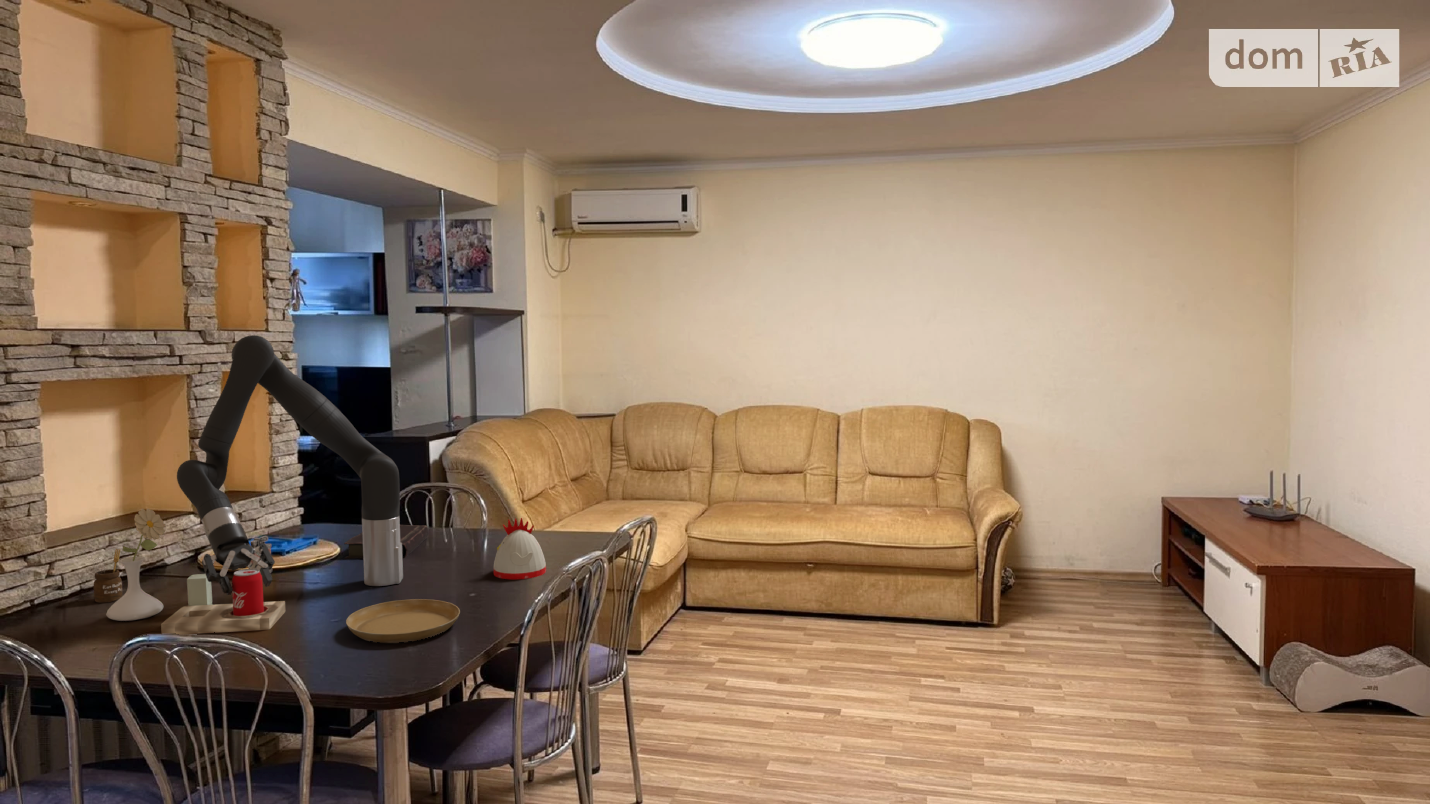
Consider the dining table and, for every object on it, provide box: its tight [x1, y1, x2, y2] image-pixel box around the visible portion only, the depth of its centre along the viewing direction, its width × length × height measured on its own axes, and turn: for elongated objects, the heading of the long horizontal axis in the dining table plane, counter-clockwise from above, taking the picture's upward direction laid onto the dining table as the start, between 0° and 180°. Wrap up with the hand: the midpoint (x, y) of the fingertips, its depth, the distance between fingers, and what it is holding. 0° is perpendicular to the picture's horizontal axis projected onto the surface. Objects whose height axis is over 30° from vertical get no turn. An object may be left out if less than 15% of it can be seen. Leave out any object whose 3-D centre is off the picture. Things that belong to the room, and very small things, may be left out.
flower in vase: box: [105, 508, 166, 622], centre depth 223 cm, size 13×11×25 cm
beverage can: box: [231, 568, 265, 616], centre depth 218 cm, size 6×6×12 cm
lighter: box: [247, 535, 273, 574], centre depth 259 cm, size 8×3×10 cm, turn 168°
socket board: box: [160, 600, 286, 635], centre depth 217 cm, size 22×13×3 cm, turn 100°
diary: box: [343, 524, 429, 560], centre depth 289 cm, size 19×25×5 cm
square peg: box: [186, 573, 213, 606], centre depth 225 cm, size 4×4×9 cm
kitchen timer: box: [493, 517, 547, 580], centre depth 260 cm, size 14×14×15 cm
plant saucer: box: [345, 598, 461, 644], centre depth 214 cm, size 24×24×3 cm
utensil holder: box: [92, 548, 123, 604], centre depth 237 cm, size 6×6×12 cm
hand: (249, 588), depth 217 cm, fingers open, 8 cm apart
